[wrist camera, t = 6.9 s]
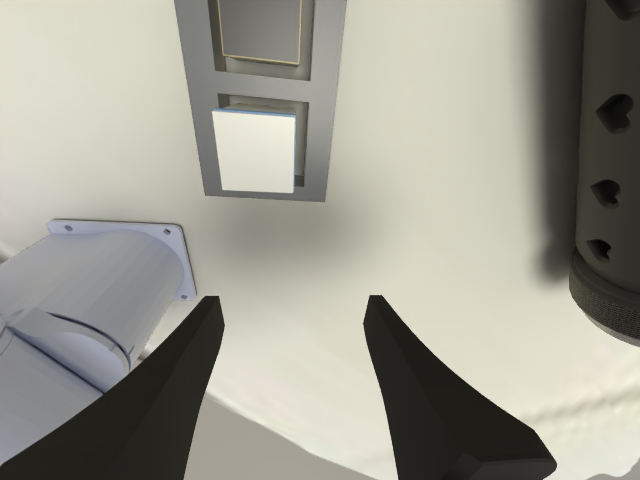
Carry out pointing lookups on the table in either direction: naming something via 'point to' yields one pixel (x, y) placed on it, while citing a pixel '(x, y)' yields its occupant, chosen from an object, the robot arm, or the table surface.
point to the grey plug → (256, 147)
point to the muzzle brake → (609, 172)
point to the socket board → (264, 47)
